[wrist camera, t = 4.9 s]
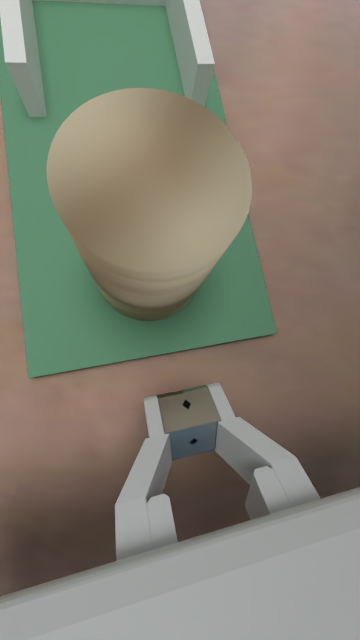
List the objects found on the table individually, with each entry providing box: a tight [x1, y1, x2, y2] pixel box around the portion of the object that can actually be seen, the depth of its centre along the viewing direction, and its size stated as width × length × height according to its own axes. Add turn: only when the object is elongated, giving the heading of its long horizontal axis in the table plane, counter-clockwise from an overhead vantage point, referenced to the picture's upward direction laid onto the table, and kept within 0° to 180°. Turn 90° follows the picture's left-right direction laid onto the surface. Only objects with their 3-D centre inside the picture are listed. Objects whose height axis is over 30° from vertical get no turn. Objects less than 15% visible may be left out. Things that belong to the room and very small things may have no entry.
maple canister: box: [46, 88, 252, 321], centre depth 12 cm, size 6×6×8 cm
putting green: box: [0, 0, 277, 378], centre depth 16 cm, size 27×14×4 cm, turn 11°
